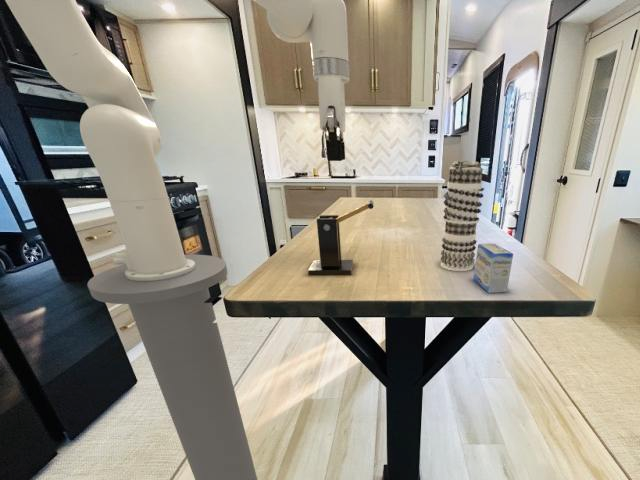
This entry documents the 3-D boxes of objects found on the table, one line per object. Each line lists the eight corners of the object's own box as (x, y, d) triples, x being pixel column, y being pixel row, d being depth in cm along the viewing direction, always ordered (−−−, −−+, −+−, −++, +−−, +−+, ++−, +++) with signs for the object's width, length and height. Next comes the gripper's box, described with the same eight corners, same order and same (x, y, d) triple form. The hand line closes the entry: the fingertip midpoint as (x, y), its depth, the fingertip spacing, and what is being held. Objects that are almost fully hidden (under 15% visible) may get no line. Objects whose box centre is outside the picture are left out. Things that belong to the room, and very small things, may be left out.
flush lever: (375, 206, 76) (371, 197, 75) (375, 210, 72) (370, 200, 71) (327, 229, 78) (322, 220, 77) (324, 234, 73) (318, 224, 72)
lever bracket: (353, 264, 83) (350, 214, 78) (351, 274, 76) (348, 220, 71) (314, 264, 82) (309, 213, 77) (308, 275, 75) (302, 220, 70)
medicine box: (472, 280, 74) (477, 243, 70) (490, 279, 75) (495, 242, 71) (488, 293, 67) (493, 253, 63) (507, 292, 68) (514, 252, 64)
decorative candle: (481, 270, 80) (495, 162, 70) (447, 272, 78) (456, 161, 68) (465, 259, 88) (476, 160, 78) (434, 261, 86) (440, 160, 76)
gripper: (319, 80, 76) (325, 159, 83) (306, 62, 60) (315, 161, 67) (351, 81, 76) (354, 159, 84) (346, 63, 61) (351, 161, 68)
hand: (336, 160), depth 75 cm, fingers open, 9 cm apart
